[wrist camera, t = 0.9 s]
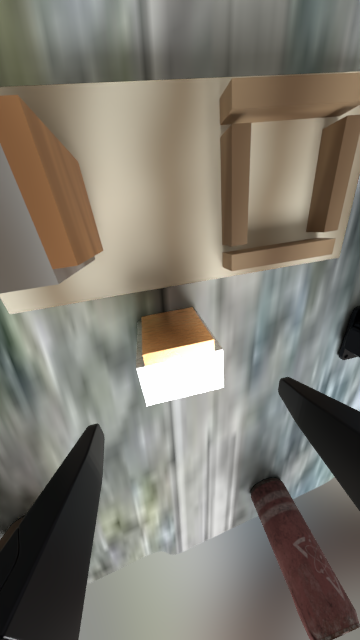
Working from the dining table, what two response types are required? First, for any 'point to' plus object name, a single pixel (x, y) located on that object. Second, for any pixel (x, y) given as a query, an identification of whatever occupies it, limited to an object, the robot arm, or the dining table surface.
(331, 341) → the dining table surface
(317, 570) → the brown rounded cylinder
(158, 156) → the cream wooden stand
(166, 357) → the white wood-topped block
